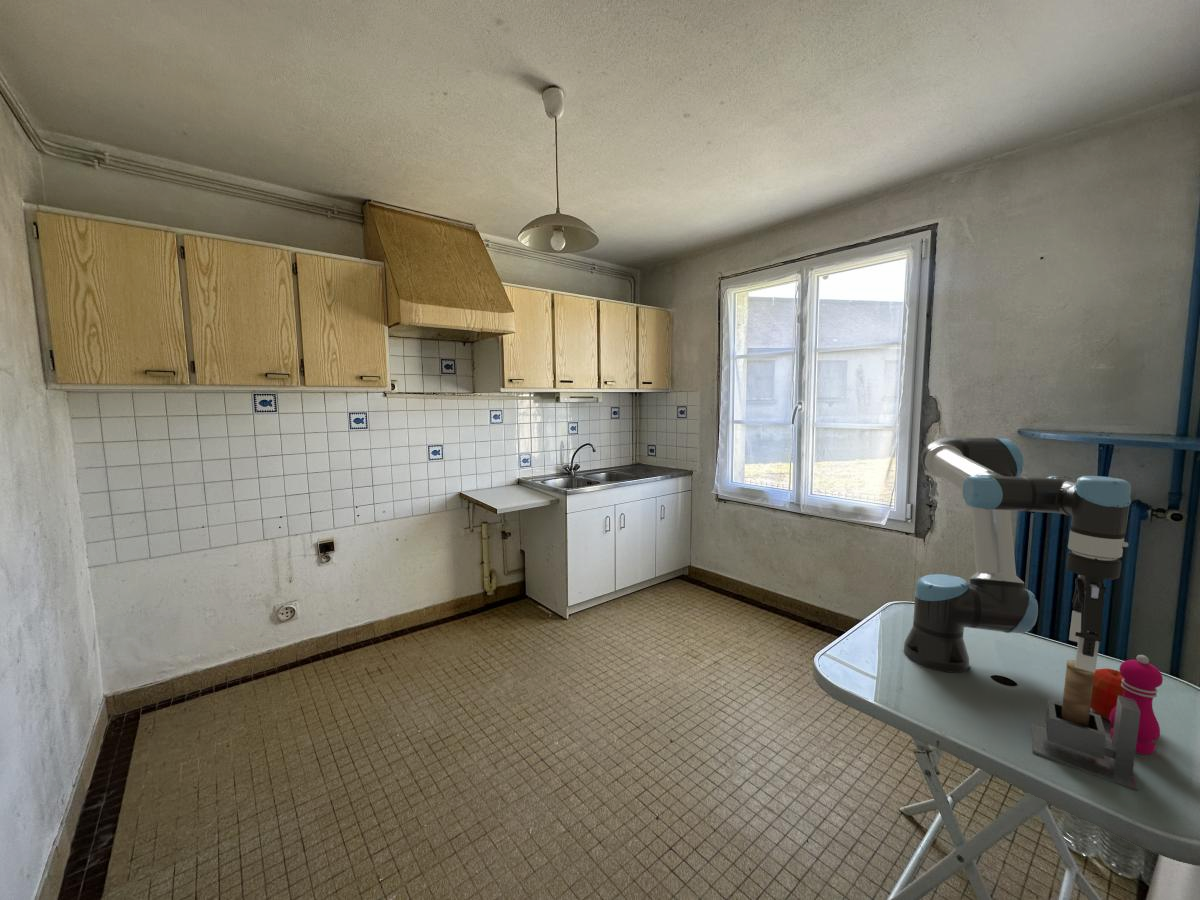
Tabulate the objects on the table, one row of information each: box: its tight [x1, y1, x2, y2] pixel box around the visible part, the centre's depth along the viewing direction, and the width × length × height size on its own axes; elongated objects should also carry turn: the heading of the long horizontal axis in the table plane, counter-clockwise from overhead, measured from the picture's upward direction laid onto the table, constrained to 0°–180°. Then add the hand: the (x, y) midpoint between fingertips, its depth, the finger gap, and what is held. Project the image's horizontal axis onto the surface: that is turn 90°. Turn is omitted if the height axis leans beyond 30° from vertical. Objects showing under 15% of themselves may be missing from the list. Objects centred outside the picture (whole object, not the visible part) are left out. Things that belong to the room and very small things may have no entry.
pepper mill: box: [1108, 654, 1163, 755], centre depth 101 cm, size 7×7×20 cm
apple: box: [1090, 668, 1124, 721], centre depth 110 cm, size 10×10×12 cm
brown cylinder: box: [1061, 659, 1095, 727], centre depth 98 cm, size 4×4×15 cm
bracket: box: [1031, 695, 1141, 791], centre depth 98 cm, size 14×11×14 cm
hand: (1081, 654), depth 97 cm, fingers open, 13 cm apart
